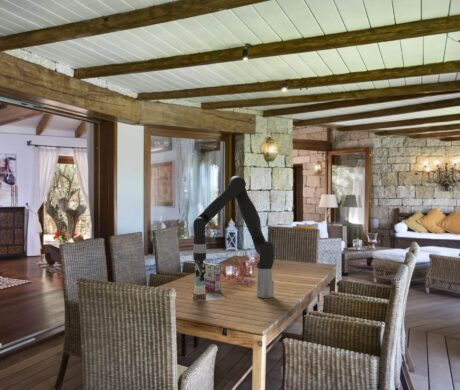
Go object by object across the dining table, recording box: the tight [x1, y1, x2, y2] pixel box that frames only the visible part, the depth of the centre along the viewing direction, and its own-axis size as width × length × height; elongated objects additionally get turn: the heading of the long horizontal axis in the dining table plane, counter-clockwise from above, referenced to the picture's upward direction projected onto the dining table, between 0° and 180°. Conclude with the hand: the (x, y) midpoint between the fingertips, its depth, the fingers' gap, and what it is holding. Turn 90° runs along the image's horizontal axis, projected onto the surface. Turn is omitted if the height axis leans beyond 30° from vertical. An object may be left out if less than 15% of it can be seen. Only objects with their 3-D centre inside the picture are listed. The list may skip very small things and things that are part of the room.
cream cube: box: [193, 283, 206, 295], centre depth 232 cm, size 5×5×5 cm
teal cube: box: [194, 275, 205, 286], centre depth 232 cm, size 4×4×4 cm
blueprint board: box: [191, 292, 226, 302], centre depth 234 cm, size 18×13×1 cm
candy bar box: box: [204, 262, 222, 292], centre depth 254 cm, size 11×5×16 cm, turn 40°
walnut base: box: [192, 292, 207, 300], centre depth 232 cm, size 6×6×3 cm
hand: (199, 279), depth 232 cm, fingers open, 8 cm apart
